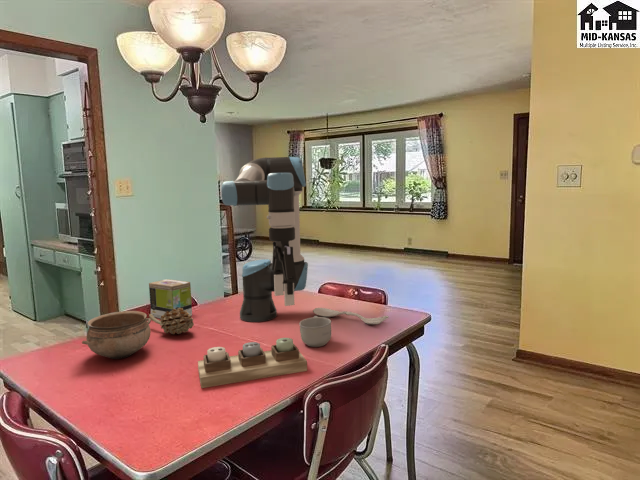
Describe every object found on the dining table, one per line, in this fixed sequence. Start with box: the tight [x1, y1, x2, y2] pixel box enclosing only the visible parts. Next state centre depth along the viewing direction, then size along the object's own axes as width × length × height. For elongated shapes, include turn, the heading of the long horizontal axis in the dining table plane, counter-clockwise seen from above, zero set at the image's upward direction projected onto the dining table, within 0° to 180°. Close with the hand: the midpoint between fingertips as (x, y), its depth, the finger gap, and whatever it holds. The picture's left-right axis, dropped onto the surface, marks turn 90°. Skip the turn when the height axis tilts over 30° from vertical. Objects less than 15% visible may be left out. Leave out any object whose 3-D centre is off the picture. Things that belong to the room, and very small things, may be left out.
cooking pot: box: [81, 310, 152, 360], centre depth 142 cm, size 25×19×12 cm
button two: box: [206, 346, 227, 363], centre depth 125 cm, size 5×5×3 cm
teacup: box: [298, 315, 332, 348], centre depth 150 cm, size 14×11×8 cm
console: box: [197, 342, 308, 389], centre depth 128 cm, size 12×30×6 cm, turn 109°
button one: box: [275, 337, 294, 353], centre depth 131 cm, size 5×5×3 cm
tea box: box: [148, 278, 193, 319], centre depth 184 cm, size 15×10×15 cm, turn 58°
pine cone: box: [148, 308, 195, 335], centre depth 163 cm, size 22×10×10 cm, turn 67°
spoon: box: [312, 307, 390, 325], centre depth 175 cm, size 9×32×4 cm, turn 56°
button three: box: [242, 341, 261, 358], centre depth 128 cm, size 5×5×3 cm
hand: (284, 300), depth 129 cm, fingers open, 11 cm apart
